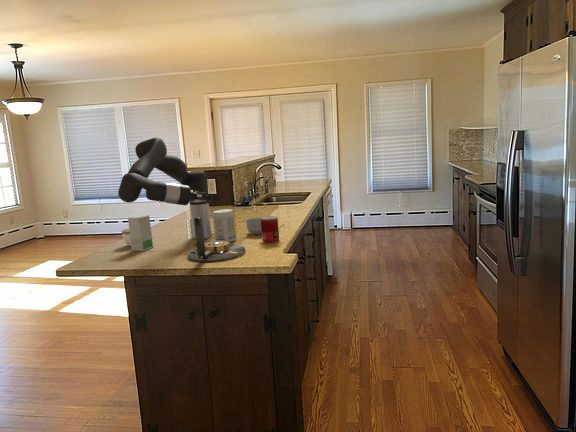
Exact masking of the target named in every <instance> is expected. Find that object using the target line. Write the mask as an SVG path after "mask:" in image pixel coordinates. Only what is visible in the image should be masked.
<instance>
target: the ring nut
mask: <svg viewBox="0 0 576 432" xmlns="http://www.w3.org/2000/svg"><path fill="white" fill-rule="evenodd" d="M194 228H195V238H196V239H195V246H196V248H197V258H198V259H203V258H206V256H207V255H209V254H211V253H215V252H217V253H218V252H224V251H227V250H229V249H230V244H231V242H227V241H226V242H225V241H218V242H222V245H218V246H210V243H212V242H216V240H215V241H211V242H210V241H209V242H205V238H204V234H203V224H202V217H196V218H194ZM196 248H195V249H196Z"/></svg>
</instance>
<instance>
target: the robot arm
mask: <svg viewBox="0 0 576 432" xmlns="http://www.w3.org/2000/svg"><path fill="white" fill-rule="evenodd" d="M134 150H135V154H136V156H137V158H138V159H137V160H136V161H135V162H134V163H133V164H132V165H131V167H130V168H129V170H128V172H127V173H125V174H124V175H123V176H122V178H121V182H120V185H119V188H118V192H117V194H118V197H119V198H120V199H121V201H123V202H124V203H133V202H136V200H138V198H139V197H140V194H141V192H142V191H143V190H145V198H146V199H147V200H149V201H154V202H162V203H167V204H172V205H177V206H179V205H180V206H188V205H189V208H190V219H189V224H190V226H189V227H190V235H191V239H195V240H196V238H195V228H194V218H196V217H202V224H203V234H204V239H208V238H211V237H212V236H213V235H212V226H211V225H212V223H211V215H210V203H212V202H215V203H220V202H221V200H222V197H221V196H220V195H215V194H212V193H209V181H208V179H209V178H208V176H207V173H206V172H205V171H202V170H200V171H199V170H197V171H196V170H195V171H189V170H188V167H187V164H186V162H184V161H183V160H182V159H181V158H179V157H178V156H176V155H173V154H168V151H167V150H168V148H167V145H166V143H165V142H164V141H163V139H162V138H160V137H151V138H148V139H146V140H143V141H141V142H139V143H137V144H136V146H135V149H134ZM154 169H156V170H158V171H160V172H161V173H162V172H163V173H164V174H166V175H167V176H168V177H170V178H172V179H173V180H175V181H177V182H178V183H172V182H162V181H161V182H160V181H155V180H152V179H150V178H149V177H150V175H151V173H152V172H153V171H154ZM142 189H143V190H142Z"/></svg>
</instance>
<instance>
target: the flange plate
mask: <svg viewBox="0 0 576 432" xmlns="http://www.w3.org/2000/svg"><path fill="white" fill-rule="evenodd" d="M211 242H212V243H210V246H218V245H222V242H214V241H211ZM245 253H246V247H245V246H243V245H240V244H235V243H234V244H232V243H230V249H229V250H227V251H224V252H218V253H217V252H215V253H211V254H209V255H207V256H206V258H203V259H198V258H197V248H194V249H192V250H190V251H189V252H188V253H187V259H188V260H189V261H192V262H198V263H213V262H223V261H228V260H233V259H236V258H239V256H240V257H241V255H242V256H243V255H245Z"/></svg>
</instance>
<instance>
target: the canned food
mask: <svg viewBox="0 0 576 432" xmlns="http://www.w3.org/2000/svg"><path fill="white" fill-rule="evenodd" d="M261 217H262V218H261V231H262V234H261V240H262V242H263V243H268V242H269V243H277V242H279V240H280V233H279V218H278V216H276V215H275V216H274V215H267V216H261Z"/></svg>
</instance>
